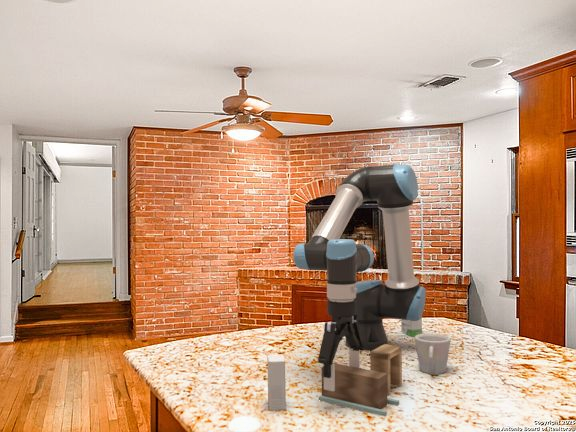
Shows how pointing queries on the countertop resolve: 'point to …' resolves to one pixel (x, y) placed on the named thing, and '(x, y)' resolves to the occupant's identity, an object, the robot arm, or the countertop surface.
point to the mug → (432, 352)
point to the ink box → (411, 327)
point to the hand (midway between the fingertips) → (342, 382)
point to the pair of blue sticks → (358, 406)
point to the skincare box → (276, 382)
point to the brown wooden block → (358, 386)
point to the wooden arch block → (388, 363)
